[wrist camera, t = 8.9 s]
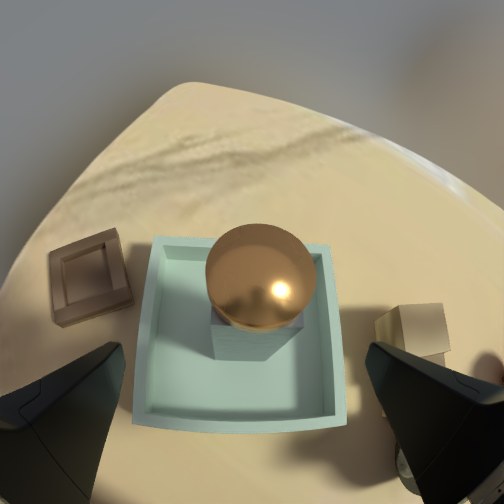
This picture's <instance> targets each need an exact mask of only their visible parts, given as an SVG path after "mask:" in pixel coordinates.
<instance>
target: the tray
mask: <svg viewBox="0 0 504 504" xmlns="http://www.w3.org/2000/svg"><path fill="white" fill-rule="evenodd" d="M217 240H218V239H214V238H195V237H174V236H154V239H153V244H152V249H151V254H150V259H149V264H148V270H147V276H146V281H145V288H144V294H143V301H142V307H141V315H140V322H139V331H138V340H137V349H136V360H135V372H134V388H133V410H132V424H137V425H142V426H149V427H155V428H163V429H171V430H180V431H190V432H204V433H227V434H257V433H281V432H294V431H305V430H314V429H322V428H329V427H336V426H342V425H347V414H346V389H345V372H344V358H343V346H342V335H341V325H340V316H339V307H338V299H337V291H336V284H335V277H334V270H333V263H332V257H331V250H330V245H319V244H304V246H305V247H306V248H307V250H308V251H309V253H310V254H311V256H312V259H313V261H314V264H315V268H316V287H315V291H314V294H313V296H312V298H311V300H310V302H309V303H308V305H307V306H306V307H305V308H304V309H303V317H304V328H303V329H302V330H301V331H299V332H298V333H297V334H296V335H295V336H294V337H293V338H292V339H290V340H289V341H288V342H287V343H286V344H285V345H284V346H282V347H281V348H280V349H279V350H278V351H277V352H276V353H274V354H273V355H272V356H271V357H270V358H268V359H267V360H266V361H223V360H215V356H214V349H213V341H212V334H211V326H210V323H211V303H210V300H209V297H208V294H207V287H206V277H205V266H206V260H207V257H208V254H209V252H210V250H211V248H212V247H213V245H214V244H215V242H216V241H217Z"/></svg>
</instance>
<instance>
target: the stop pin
mask: <svg viewBox="0 0 504 504" xmlns="http://www.w3.org/2000/svg"><path fill="white" fill-rule="evenodd" d="M205 277H206V287H207V294H208V297H209V300H210V303H211V323H210V326H211V334H212V341H213V349H214V356H215V360H223V361H266V360H267V359H268V358H270V357H271V356H272V355H273V354H274V353H276V352H277V351H278V350H279V349H280V348H281V347H282V346H284V345H285V344H286V343H287V342H288V341H289V340H290V339H292V338H293V337H294V336H295V335H296V334H297V333H298V332H299V331H301V330H302V329H303V328H304V317H303V309H304V308H305V307H306V306H307V305H308V303H309V302H310V300H311V298H312V296H313V294H314V291H315V287H316V268H315V264H314V261H313V259H312V256H311V254H310V253H309V251H308V250H307V248H306V247H305V246H304V244H303V243H302V242H301V241H300V240H299V239H298V238H296V237H295V236H294V235H292V234H291V233H289V232H287V231H286V230H283V229H281V228H279V227H276V226H272V225H267V224H247V225H243V226H239V227H236V228H234V229H232V230H230V231H228V232H227V233H225V234H224V235H222V236H221V237H220V238H219V239H218V240H217V241H216V242H215V244H214V245H213V247H212V248H211V250H210V252H209V254H208V257H207V260H206V266H205Z"/></svg>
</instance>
